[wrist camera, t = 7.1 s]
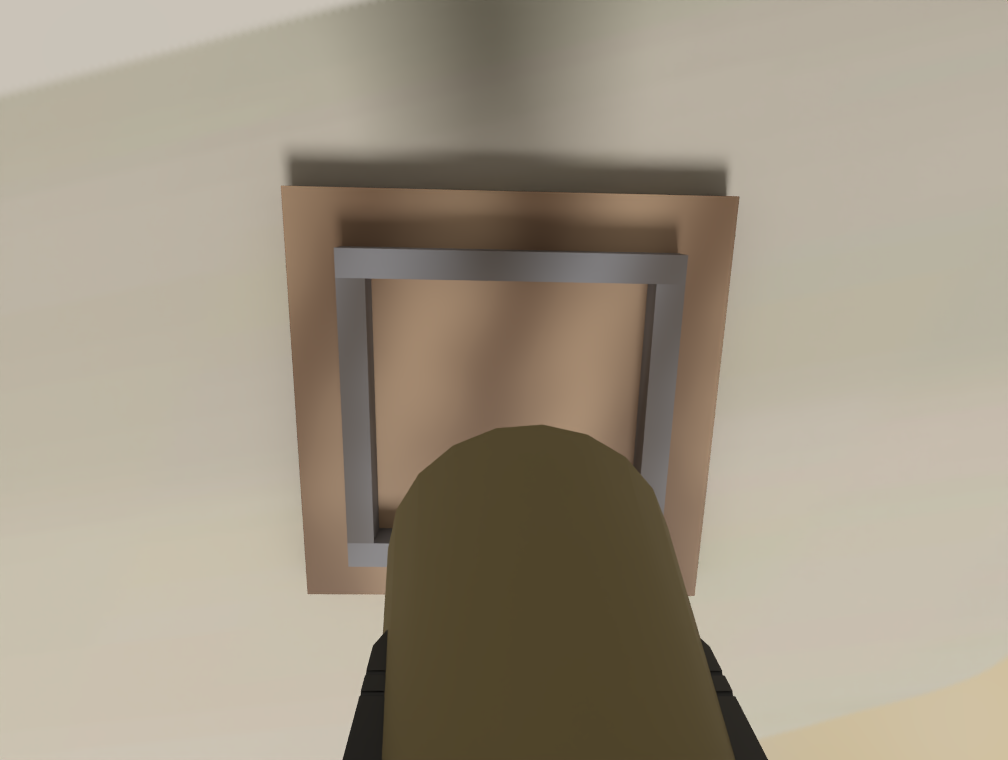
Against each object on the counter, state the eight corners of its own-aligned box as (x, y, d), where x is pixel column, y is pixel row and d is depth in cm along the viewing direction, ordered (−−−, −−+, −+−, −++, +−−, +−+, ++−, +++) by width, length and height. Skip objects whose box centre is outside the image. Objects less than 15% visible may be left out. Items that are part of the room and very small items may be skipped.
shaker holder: (726, 197, 23) (753, 195, 21) (685, 579, 27) (704, 613, 25) (291, 187, 23) (268, 183, 20) (315, 577, 27) (299, 611, 24)
